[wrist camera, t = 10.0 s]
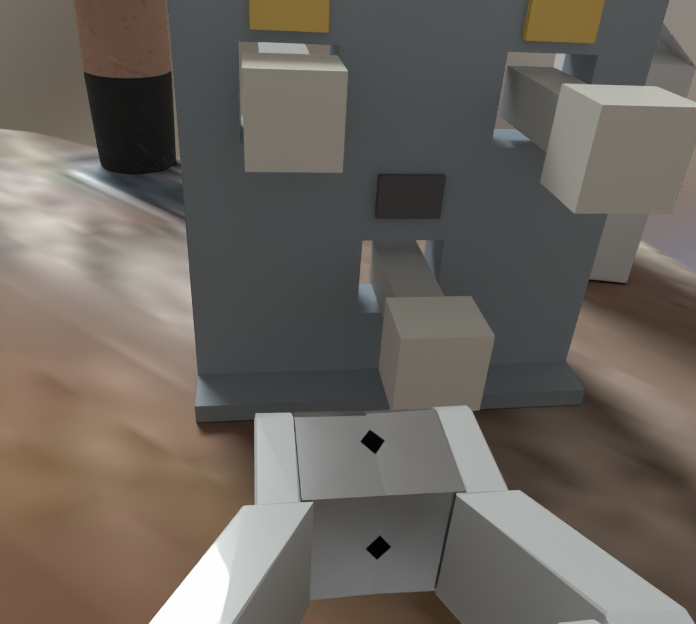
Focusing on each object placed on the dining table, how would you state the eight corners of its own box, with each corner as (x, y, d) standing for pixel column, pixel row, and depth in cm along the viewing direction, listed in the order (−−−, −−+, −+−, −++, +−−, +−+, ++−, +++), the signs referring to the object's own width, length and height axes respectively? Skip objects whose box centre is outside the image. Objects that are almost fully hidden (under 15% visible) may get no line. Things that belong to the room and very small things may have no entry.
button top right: (574, 213, 22) (602, 104, 20) (481, 130, 30) (495, 48, 28) (671, 213, 22) (708, 107, 20) (554, 131, 30) (572, 51, 29)
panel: (196, 422, 31) (154, -49, 21) (205, 332, 38) (177, -57, 27) (581, 404, 34) (713, -17, 24) (525, 323, 41) (609, -32, 30)
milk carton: (605, 244, 52) (681, -17, 42) (626, 286, 46) (721, -8, 36) (517, 235, 53) (572, -24, 43) (526, 275, 47) (593, -17, 37)
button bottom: (391, 414, 25) (400, 338, 23) (355, 289, 34) (359, 226, 32) (479, 410, 26) (495, 336, 24) (421, 288, 34) (430, 226, 32)
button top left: (244, 171, 23) (241, 67, 21) (245, 104, 32) (243, 25, 30) (342, 172, 24) (348, 71, 22) (317, 105, 32) (319, 28, 30)
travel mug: (81, 168, 60) (39, -80, 50) (124, 146, 67) (95, -79, 56) (155, 179, 59) (128, -74, 48) (192, 155, 65) (175, -73, 55)
